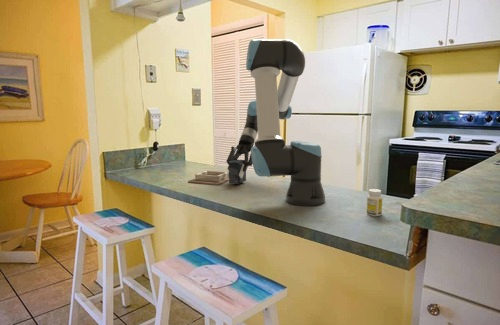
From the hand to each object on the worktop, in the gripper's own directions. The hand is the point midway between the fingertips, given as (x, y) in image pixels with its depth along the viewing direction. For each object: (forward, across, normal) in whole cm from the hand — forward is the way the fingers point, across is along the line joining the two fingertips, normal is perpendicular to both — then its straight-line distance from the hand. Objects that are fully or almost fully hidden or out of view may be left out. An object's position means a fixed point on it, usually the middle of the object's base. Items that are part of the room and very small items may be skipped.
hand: (234, 176), depth 158 cm
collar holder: (-2, +16, -8) cm, 18 cm away
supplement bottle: (+19, -64, +12) cm, 68 cm away
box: (0, 0, -5) cm, 5 cm away
